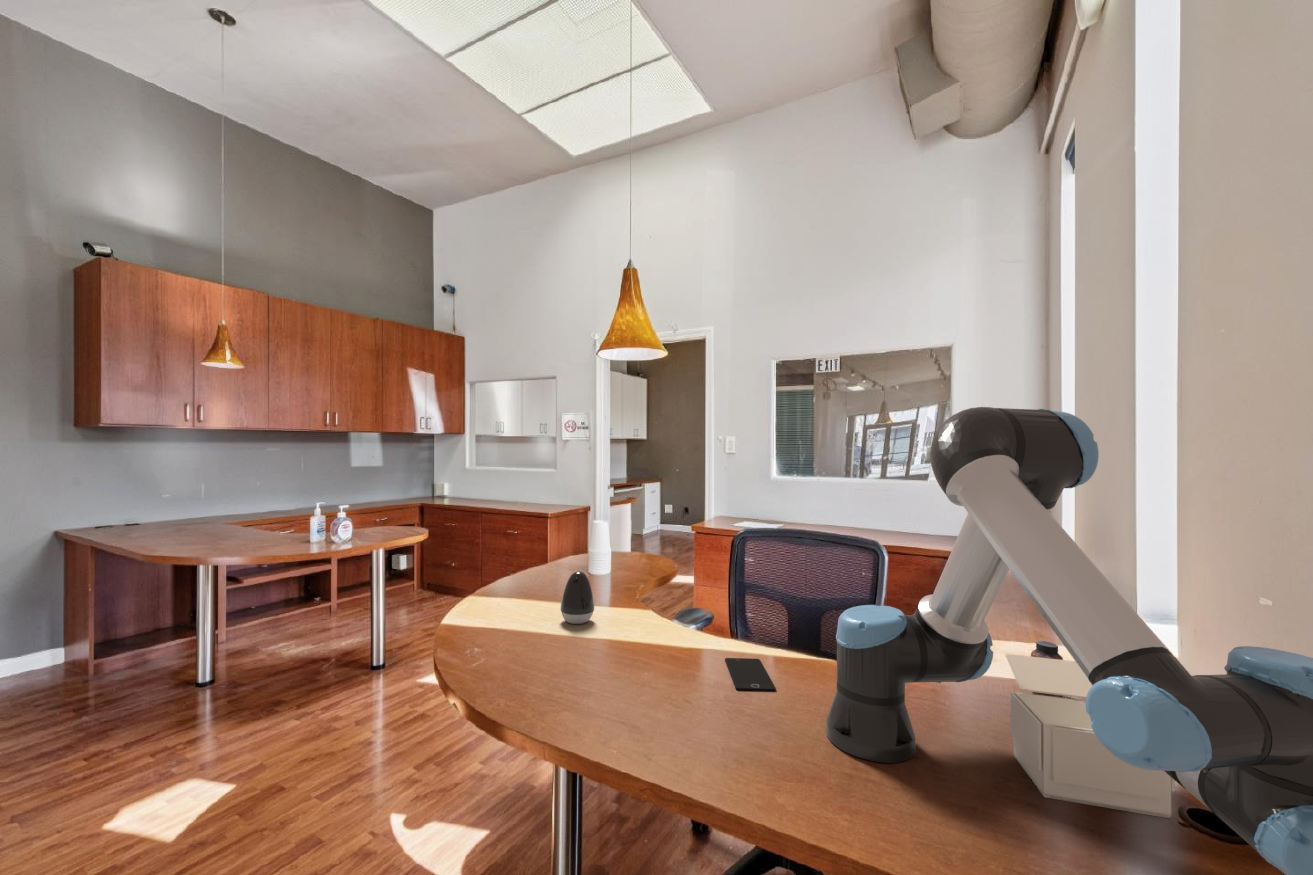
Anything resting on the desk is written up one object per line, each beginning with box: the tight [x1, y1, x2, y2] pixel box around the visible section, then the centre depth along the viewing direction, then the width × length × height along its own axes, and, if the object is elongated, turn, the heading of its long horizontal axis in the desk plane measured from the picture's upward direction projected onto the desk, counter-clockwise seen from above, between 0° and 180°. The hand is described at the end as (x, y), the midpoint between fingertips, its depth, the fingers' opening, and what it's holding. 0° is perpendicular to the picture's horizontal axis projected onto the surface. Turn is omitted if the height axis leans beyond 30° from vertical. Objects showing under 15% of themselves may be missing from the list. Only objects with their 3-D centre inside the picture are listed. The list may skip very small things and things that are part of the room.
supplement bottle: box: [1030, 640, 1064, 698], centre depth 119 cm, size 6×6×11 cm
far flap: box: [1005, 653, 1092, 699], centre depth 95 cm, size 14×8×1 cm, turn 75°
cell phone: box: [724, 657, 777, 692], centre depth 126 cm, size 9×18×1 cm, turn 1°
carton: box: [1010, 691, 1176, 819], centre depth 85 cm, size 17×13×11 cm
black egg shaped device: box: [560, 570, 595, 625], centre depth 162 cm, size 10×10×15 cm
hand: (1097, 682), depth 82 cm, fingers closed
